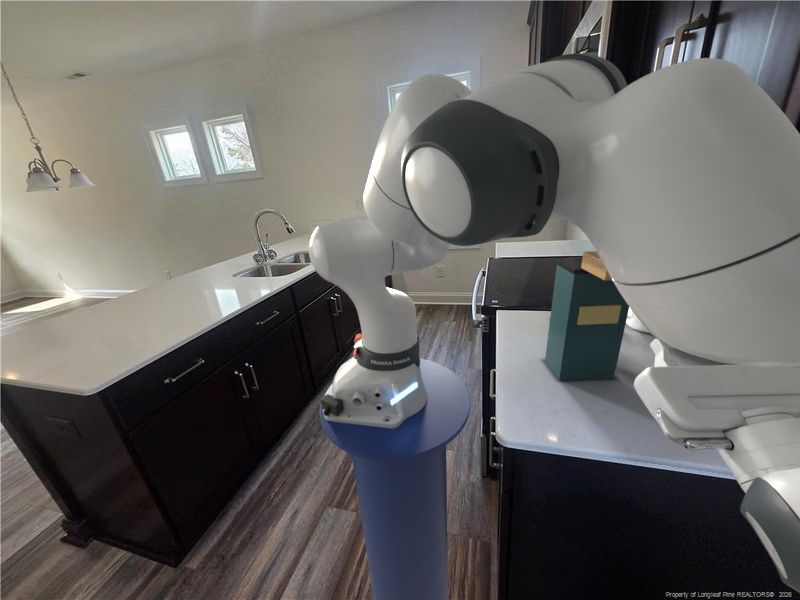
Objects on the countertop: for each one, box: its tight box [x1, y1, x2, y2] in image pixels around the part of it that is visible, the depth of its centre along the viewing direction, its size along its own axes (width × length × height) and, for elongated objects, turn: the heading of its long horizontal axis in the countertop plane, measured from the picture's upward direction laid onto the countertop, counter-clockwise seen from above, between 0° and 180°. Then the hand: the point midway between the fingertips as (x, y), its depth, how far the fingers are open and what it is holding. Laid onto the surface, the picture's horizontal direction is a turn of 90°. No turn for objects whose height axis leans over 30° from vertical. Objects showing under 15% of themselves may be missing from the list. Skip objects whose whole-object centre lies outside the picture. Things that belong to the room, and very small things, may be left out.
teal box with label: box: [544, 257, 629, 381], centre depth 70 cm, size 13×9×26 cm
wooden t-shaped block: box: [581, 250, 612, 280], centre depth 52 cm, size 10×18×4 cm, turn 178°
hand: (693, 339), depth 43 cm, fingers open, 8 cm apart
